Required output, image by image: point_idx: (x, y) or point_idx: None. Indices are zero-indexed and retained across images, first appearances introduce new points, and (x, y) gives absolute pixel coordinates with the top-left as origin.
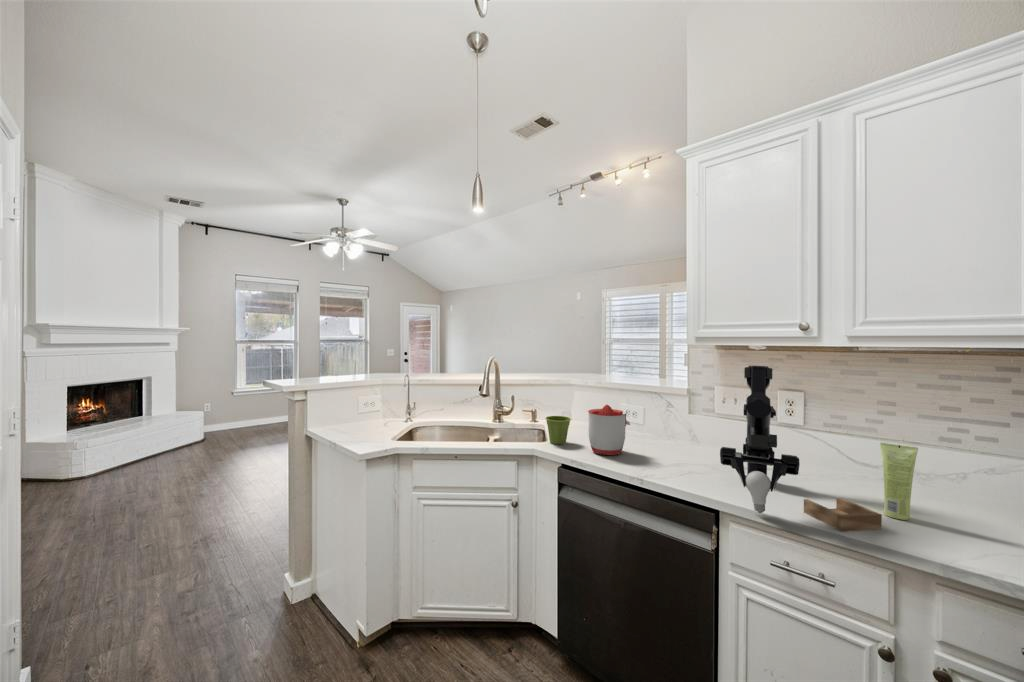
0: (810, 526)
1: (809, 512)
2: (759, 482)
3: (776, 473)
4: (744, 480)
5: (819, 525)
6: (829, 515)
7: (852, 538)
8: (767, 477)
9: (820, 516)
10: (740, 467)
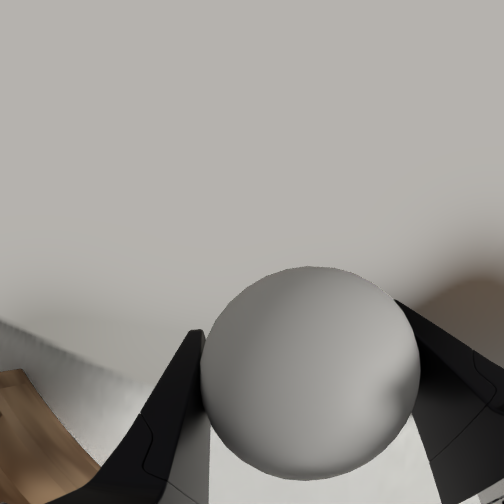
0: (90, 362)
1: None
2: (290, 272)
3: (128, 454)
4: (410, 319)
5: (69, 390)
6: (28, 414)
7: (3, 323)
8: (224, 380)
9: (65, 443)
10: (502, 385)
